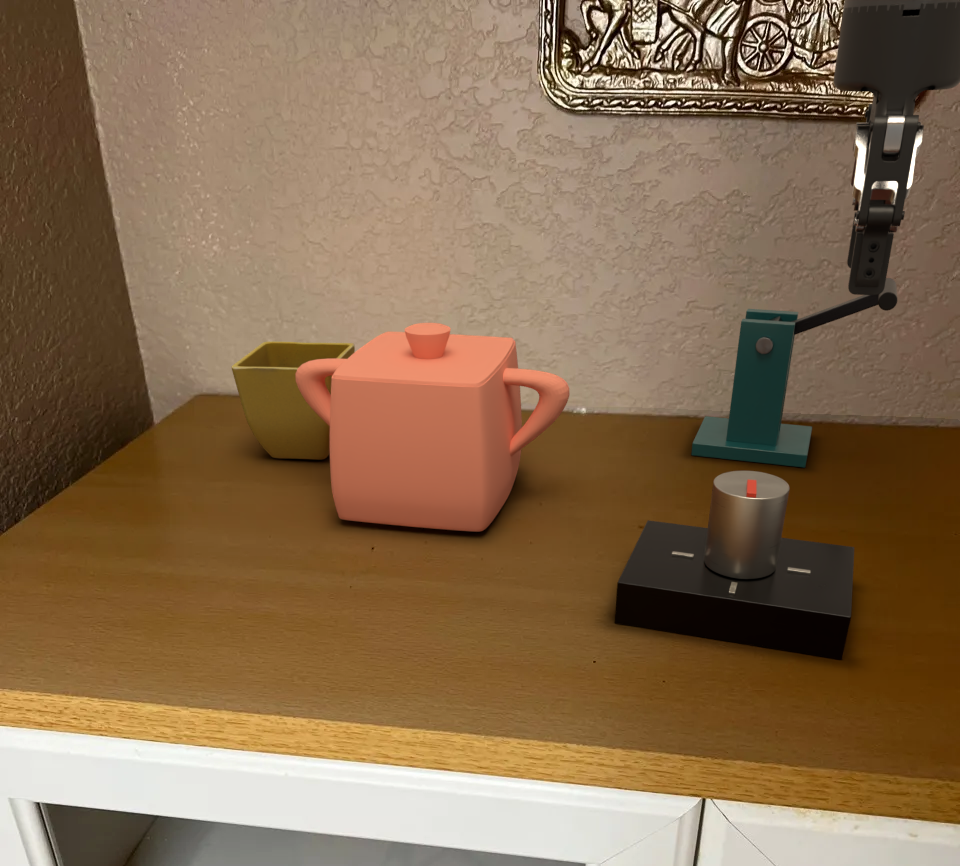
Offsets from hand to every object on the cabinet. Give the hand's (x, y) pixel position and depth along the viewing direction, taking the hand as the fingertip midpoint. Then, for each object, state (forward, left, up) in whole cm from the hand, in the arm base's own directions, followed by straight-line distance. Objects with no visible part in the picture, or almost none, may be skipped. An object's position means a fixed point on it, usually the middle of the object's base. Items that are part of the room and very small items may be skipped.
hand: (863, 280), depth 67 cm
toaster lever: (+2, -15, -7) cm, 17 cm away
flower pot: (+46, -1, -18) cm, 49 cm away
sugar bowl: (+31, +3, -18) cm, 36 cm away
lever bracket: (+7, -15, -18) cm, 25 cm away
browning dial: (+5, +16, -15) cm, 22 cm away
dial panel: (+5, +16, -18) cm, 24 cm away
